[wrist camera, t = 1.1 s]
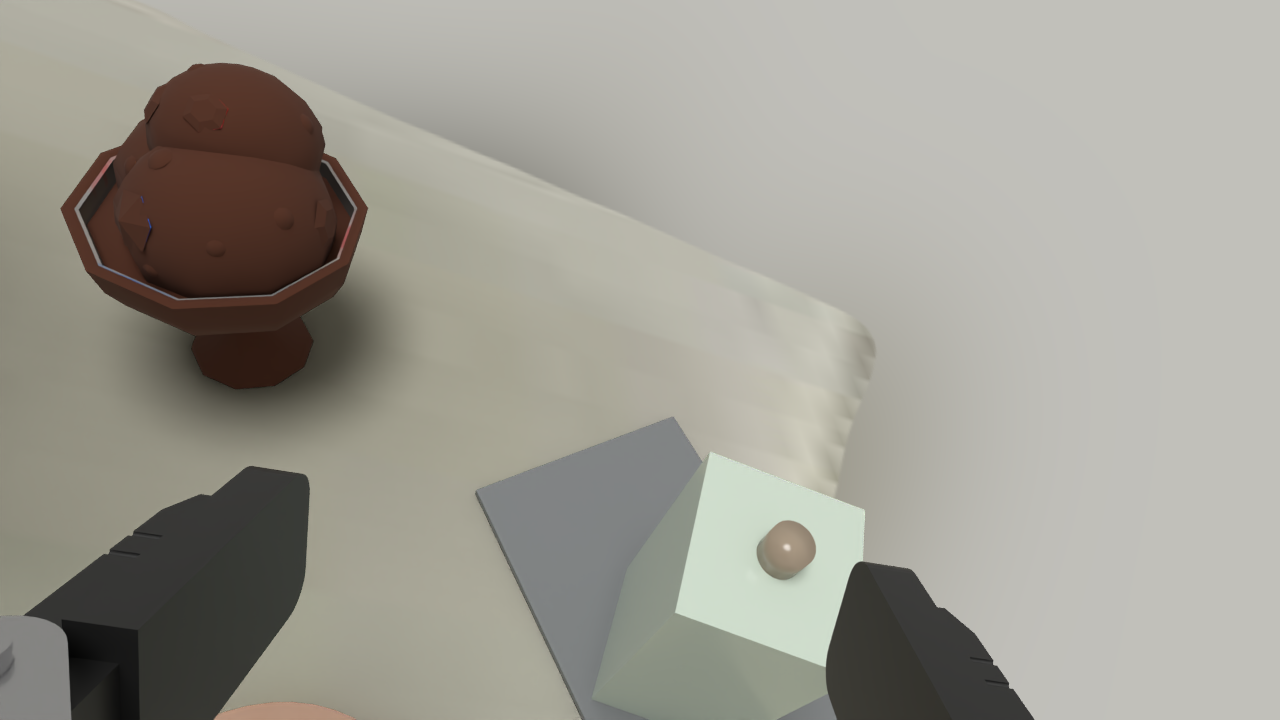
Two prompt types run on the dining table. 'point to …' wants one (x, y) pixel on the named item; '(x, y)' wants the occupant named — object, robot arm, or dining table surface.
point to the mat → (592, 545)
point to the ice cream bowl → (222, 220)
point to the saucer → (283, 712)
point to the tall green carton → (731, 600)
